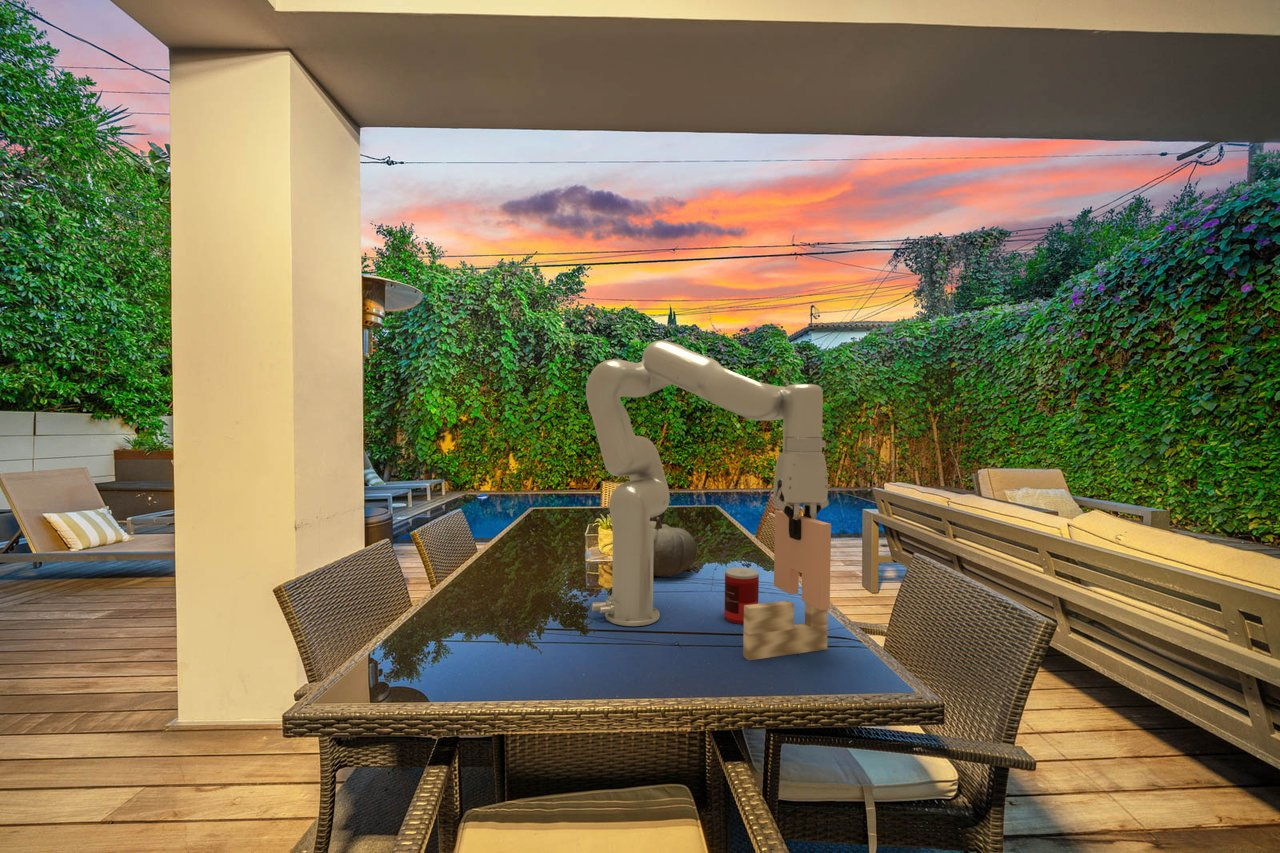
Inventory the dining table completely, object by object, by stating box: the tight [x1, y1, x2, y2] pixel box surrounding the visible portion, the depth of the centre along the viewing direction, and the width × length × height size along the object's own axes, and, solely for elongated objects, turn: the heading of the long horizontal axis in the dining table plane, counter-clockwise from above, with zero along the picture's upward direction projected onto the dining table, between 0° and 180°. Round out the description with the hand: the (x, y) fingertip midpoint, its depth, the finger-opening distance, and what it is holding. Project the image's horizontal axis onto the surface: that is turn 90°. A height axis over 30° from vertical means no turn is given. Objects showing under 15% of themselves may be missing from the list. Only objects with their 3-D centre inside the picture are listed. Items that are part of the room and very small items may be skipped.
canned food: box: [724, 566, 760, 625], centre depth 133 cm, size 8×8×11 cm
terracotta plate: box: [773, 510, 832, 610], centre depth 114 cm, size 2×16×16 cm, turn 19°
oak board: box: [742, 600, 829, 661], centre depth 113 cm, size 18×2×10 cm, turn 109°
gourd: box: [650, 516, 698, 578], centre depth 173 cm, size 25×25×17 cm
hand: (800, 537), depth 114 cm, fingers closed on terracotta plate, 2 cm apart
